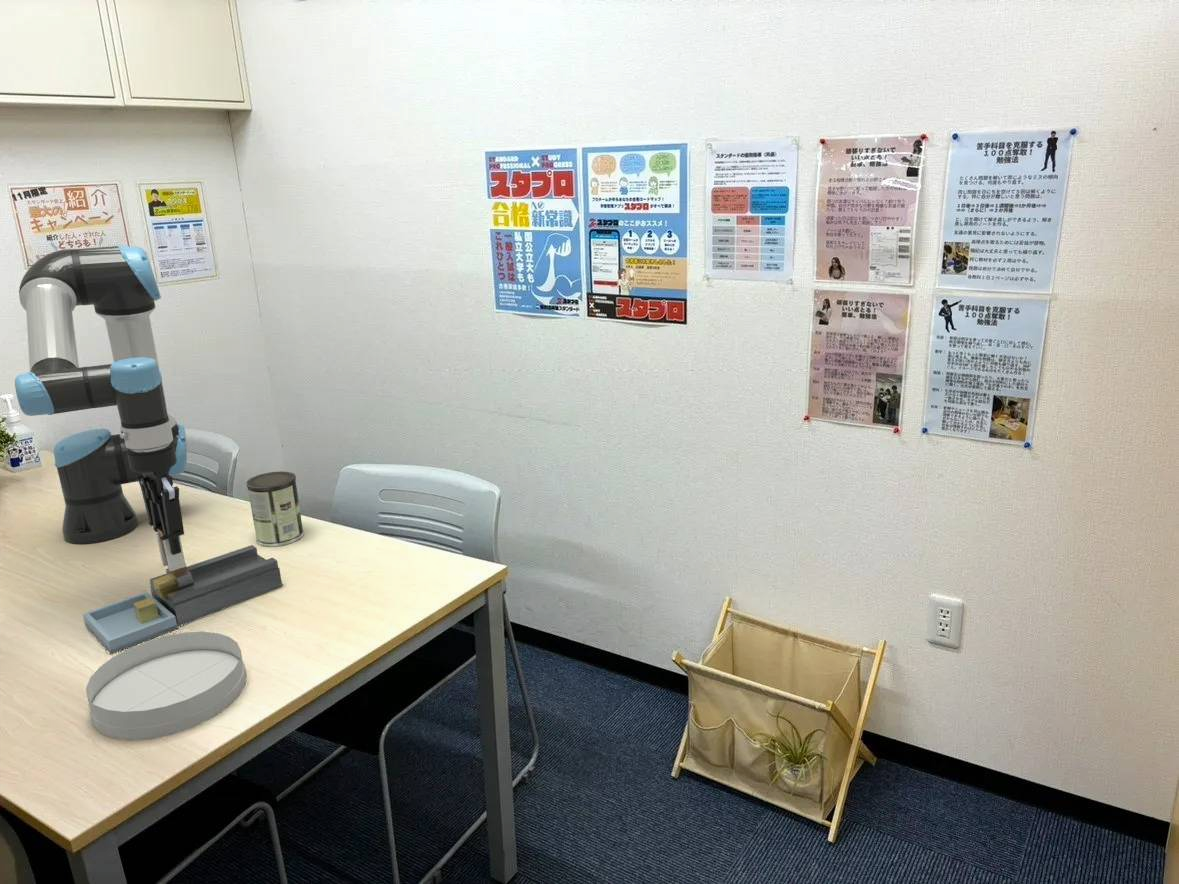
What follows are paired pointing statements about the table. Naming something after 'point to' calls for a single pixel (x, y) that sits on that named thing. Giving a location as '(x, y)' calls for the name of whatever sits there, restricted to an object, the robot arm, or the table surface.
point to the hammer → (178, 570)
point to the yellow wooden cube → (146, 610)
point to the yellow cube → (165, 586)
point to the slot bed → (222, 584)
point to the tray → (127, 624)
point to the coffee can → (275, 508)
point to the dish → (165, 685)
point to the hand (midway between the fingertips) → (174, 565)
